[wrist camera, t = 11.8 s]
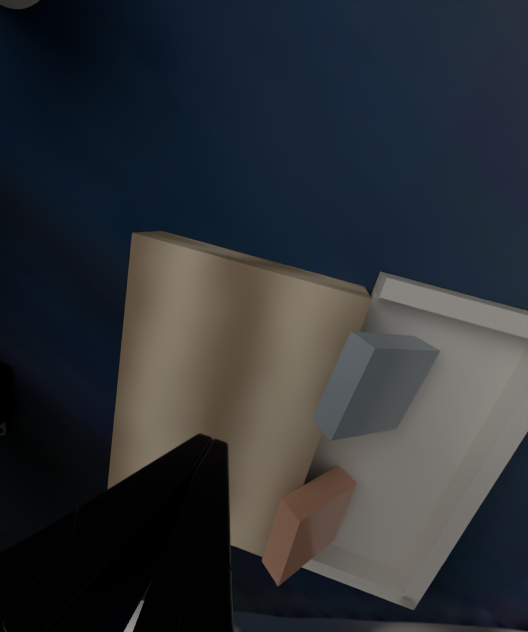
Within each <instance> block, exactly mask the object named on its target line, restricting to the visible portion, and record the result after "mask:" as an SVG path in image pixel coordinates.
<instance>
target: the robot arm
mask: <svg viewBox="0 0 528 632" xmlns="http://www.w3.org/2000/svg"><path fill="white" fill-rule="evenodd" d="M10 431H11V423H10V396H9V371H8V368H7V367H6V366H5V365H4V364H2V363H0V435H1V436H4V435H6V434H7V433H9V432H10ZM230 570H231V540H230V495H229V450H228V443H227V442H225V441H222V440H219V439H216V438H215V439H213V438H212V437H211V436H208V435H205V434H202V433H198V434H196V435H195V436H193V437H192V438H190V439H188V440H187V441H185V442H183V443H182V444H180V445H179V446H177V447H175V448H174V449H172V450H171V451H169V452H167V453H166V454H164V455H162V456H161V457H159V458H158V459H156V460H154V461H153V462H151V463H150V464H148V465H146V466H145V467H143V468H141V469H140V470H138V471H137V472H135V473H133V474H132V475H130V476H129V477H127V478H125V479H124V480H122V481H120V482H119V483H117V484H116V485H114V486H112V487H111V488H109V489H108V490H106V491H104V492H103V493H101V494H100V495H98V496H96V497H95V498H93V499H91V500H90V501H88V502H87V503H85V504H83V505H82V506H80V507H79V509H78V510H77V509H75V510H73V511H72V512H70V513H69V514H67V515H65V516H64V517H62V518H61V519H59V520H57V521H56V522H54V523H52V524H50V525H49V526H47V527H45V528H44V529H42V530H40V531H39V532H37V533H35V534H34V535H32V536H30V537H28V538H27V539H25V540H23V541H21V542H19V543H17V544H15V545H14V546H12V547H10V548H8V549H6V550H4V551H2V552H1V553H0V632H124V630H125V628H126V626H127V624H128V623H129V621H130V619H131V617H132V615H133V614H134V612H135V610H136V608H137V606H138V605H139V603H140V601H141V599H142V597H143V596H144V594H145V592H146V590H147V588H148V587H149V585H150V583H151V585H150V588H149V590H148V593H147V596H146V598H145V601H144V603H143V606H142V609H141V611H140V614H139V617H138V619H137V622H136V625H135V627H134V630H133V632H234V625H233V624H234V623H233V604H232V577H231V571H230ZM152 579H153V580H152ZM151 581H152V582H151Z"/></svg>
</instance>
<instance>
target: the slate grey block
mask: <svg viewBox="0 0 528 632" xmlns="http://www.w3.org/2000/svg"><path fill="white" fill-rule="evenodd" d="M439 353H440V350H438V349H436V348H435V347H433V346H431V345H430V344H428V343H426V342H424V341H423V340H421V339H419V338H418V337H416V336H406V335H393V334H381V333H368V332H356V331H351V332H350V334H349V336H348V339H347V341H346V343H345V346H344V348H343V350H342V352H341V355H340V357H339V359H338V361H337V364H336V366H335V368H334V371H333V373H332V375H331V377H330V380H329V382H328V384H327V387H326V389H325V391H324V393H323V396H322V398H321V400H320V402H319V405H318V407H317V409H316V412H315V414H314V416H313V418H312V419H313V420H314V421H315V422H316V424H317V425H318V426H319V427H320V428H321V430H322V431H323V432H324V433H325V434H326V436H327V437H328V438H329V439H330V440H331V441H333V440H339V439H344V438H350V437H355V436H361V435H366V434H372V433H377V432H383V431H388V430H393V429H397V428H398V426H399V424H400V422H401V421H402V419H403V417H404V415H405V413H406V412H407V410H408V408H409V406H410V404H411V403H412V401H413V399H414V397H415V396H416V394H417V392H418V390H419V388H420V387H421V385H422V383H423V381H424V379H425V378H426V376H427V374H428V372H429V371H430V369H431V367H432V365H433V363H434V362H435V360H436V358H437V356H438V354H439Z"/></svg>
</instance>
